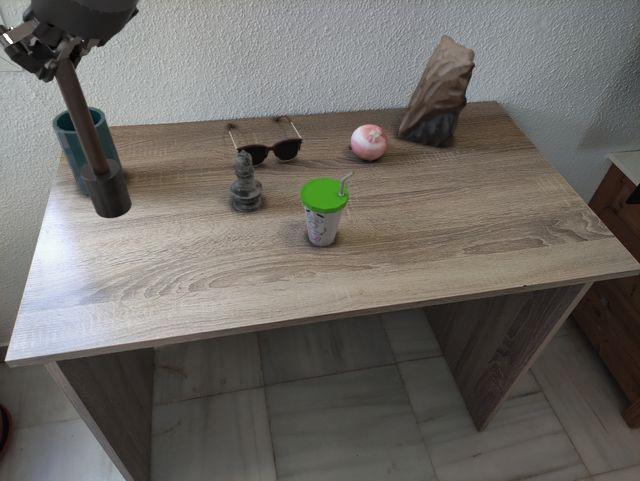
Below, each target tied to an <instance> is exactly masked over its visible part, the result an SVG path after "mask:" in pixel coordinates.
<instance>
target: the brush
mask: <svg viewBox="0 0 640 481" xmlns="http://www.w3.org/2000/svg"><path fill="white" fill-rule="evenodd" d="M58 65H59V66H58V69H57V71H56V73H55V76H54V79H55V81H56V83H57V86H58V89H59V91H60V94H61V96H62V99H63V102H64V104H65V106H66V110H68V112H69V114H70V117H71V120H72V122H73V125H74V127H75V130H76V133H77V135H78V138H79V140H80V143H81V146H82V148H83V151H84V153H85V156H86V159H87V161H88V164H86V165H85V166H84V167H83V168H82V170H81V176H82V179H83V181H84V184H85V186H86V188H87V191H88V193H89V196H88V197H89V198H90V201H91V203H92V205H93V208H94V210H95V213H96V214H97V215H98V217H101V218H103V219H116V218H121V217H122V216H124V215H125V214H127V213H128V212H129V211H130V210H131V209H132V206H133V202H132V199H131V196H130V193H129V190H128V186H127V184H126V181H125V180H124V177H123V174H122V171H121V168H120V165H119V164H118V162H116V161H115V160H112V159H106V157H105V154H104V151H103V148H102V146H101V143H100V140H99V137H98V134H97V131H96V128H95V125H94V123H93V120H92V117H91V114H90V111H89V108H88V107H89V105H88V103H87V100H86V97H85V93H84V91H83V87H82V85H81V82H80V80H79V76H78V74H77V70H75V68H74V65H73V62H72V59H71V56H70V55H69V57H67V58H64V59H61V60H60V62H59V64H58Z"/></svg>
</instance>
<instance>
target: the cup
mask: <svg viewBox="0 0 640 481" xmlns="http://www.w3.org/2000/svg"><path fill="white" fill-rule="evenodd" d="M354 175H355V172H354V170H353V171H351V172H349V173H348V174H346V175H345V176H343V177H342V178H341V179H340V181H338V180H336V179H333V178H327V177H321V178H313V179H311V180H309V181H307V182H306V183H304V184H303V186H302V188H301V190H300V196H299V197H300V199H301V203H302V205H303V207H304V213H305V219H306V220H305V222H306V228H307V233H308V234H307V235H308V239H309V242H310V243H311V244H312V245H314V246H317V247H320V248H322V247H329V246H330V245H332V244H333V243H334V241H335V239H336V235H337V232H338V228H339V225H340V221H341V218H342V214H343V211H344V208H345V207H346V206H347V205H348V204H347V203H348V202H349V198H350V194H349V191H348V188H347V186H345V182H346V181H347V180H348V179H350V178H351V177H353V176H354Z"/></svg>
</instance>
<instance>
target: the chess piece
mask: <svg viewBox="0 0 640 481" xmlns="http://www.w3.org/2000/svg"><path fill="white" fill-rule="evenodd" d="M235 165H236V167H235V170H234V174H235V175H236V180H235V181H234V182H232V183H231V184H230V187H229V191H230V194H232V196H233V198H234V199H233V206H234V208H235V209H236V210H237V211H239V212H243V213H250V212H254V211H257V210H258V209H259V208H260V207H261V206H262V202H263V201H262V198H261V197H260V196H261V194H262V192H263V188H264V187H263V184H262V183H261V182H260V180H258V179H255V176H254V175H255V174H256V169H255V168H254V166H252V157H251V155H250V154H249V153H247V152H245V151H244V150H242V151H241V153H237V154H236V156H235Z"/></svg>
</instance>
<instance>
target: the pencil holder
mask: <svg viewBox="0 0 640 481" xmlns="http://www.w3.org/2000/svg"><path fill="white" fill-rule="evenodd" d="M88 108H89V111H90V114H91V117H92V120H93V123H94V125H95V128H96V131H97V134H98V137H99V140H100V143H101V146H102V148H103V151H104V154H105V157H106V159H112V160H115V161H116V162H118V164H119V165H120V168H121V171H122V174H123V177H124V180H125V182H126V176H125V171H124V169H123V166H122V163H121V159H120V156H119V153H118V150H117V148H116V144H115V141H114V137H113V135H112V132H111V129H110V126H109V122H108V119H107V116H106V114H105V112H104V111H102V109H100V108H97V107H94V106H88ZM51 122H52V125H51V126H52V129H53V131H54V133H55V136H56V138H57V140H58V143H59V146H60V147H61V150H62V152H63V155H64V157H65V159H66V162H67V164H68V166H69V169H70V171H71V173H72V176H73V178H74V181H75V183H76V185H77V187H78V189H79V191H80V192H81V194H83V195H84V196H87V197H90V196H89V193H88V191H87V188H86V186H85V184H84V181H83V179H82V176H81V170H82V168H83V167H84V166H85V165H86V164H88V161H87V159H86V156H85V153H84V151H83V148H82V146H81V143H80V140H79V138H78V135H77V133H76V130H75V127H74V125H73V122H72V120H71V117H70V114H69V112H68V109H66V110H63V111H62V112H60V113H58V114H56V116H55V117H54V118H53V120H52V121H51Z"/></svg>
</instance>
